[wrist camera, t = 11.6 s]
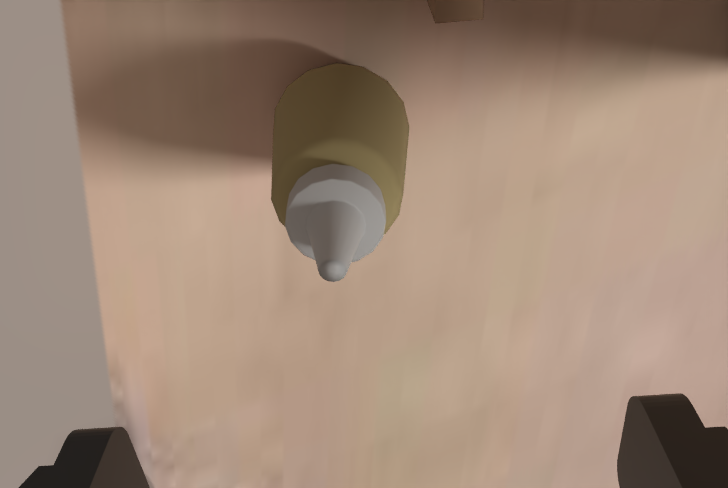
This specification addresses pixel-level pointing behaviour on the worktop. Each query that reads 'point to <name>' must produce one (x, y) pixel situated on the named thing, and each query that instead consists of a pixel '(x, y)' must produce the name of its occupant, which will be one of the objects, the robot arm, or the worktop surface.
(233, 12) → the worktop surface
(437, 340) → the worktop surface
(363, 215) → the squeeze bottle
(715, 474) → the robot arm
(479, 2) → the screen
